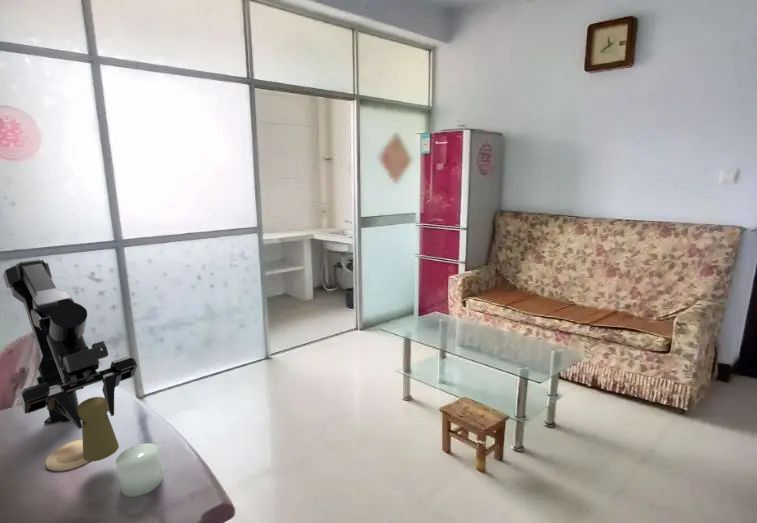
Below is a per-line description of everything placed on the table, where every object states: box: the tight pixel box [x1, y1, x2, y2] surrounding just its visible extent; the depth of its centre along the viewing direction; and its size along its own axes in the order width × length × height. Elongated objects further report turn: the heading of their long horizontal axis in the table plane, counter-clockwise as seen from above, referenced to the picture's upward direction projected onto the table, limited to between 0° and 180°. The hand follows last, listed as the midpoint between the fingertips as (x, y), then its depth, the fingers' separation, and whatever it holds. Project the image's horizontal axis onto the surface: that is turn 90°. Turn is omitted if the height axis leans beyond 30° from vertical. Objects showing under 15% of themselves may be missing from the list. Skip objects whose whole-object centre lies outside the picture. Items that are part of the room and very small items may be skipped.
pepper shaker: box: [77, 396, 120, 462], centre depth 84 cm, size 6×6×11 cm
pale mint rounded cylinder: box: [115, 442, 164, 498], centre depth 81 cm, size 7×7×6 cm
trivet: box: [45, 438, 90, 472], centre depth 91 cm, size 10×10×1 cm
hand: (97, 421), depth 83 cm, fingers closed on pepper shaker, 5 cm apart
